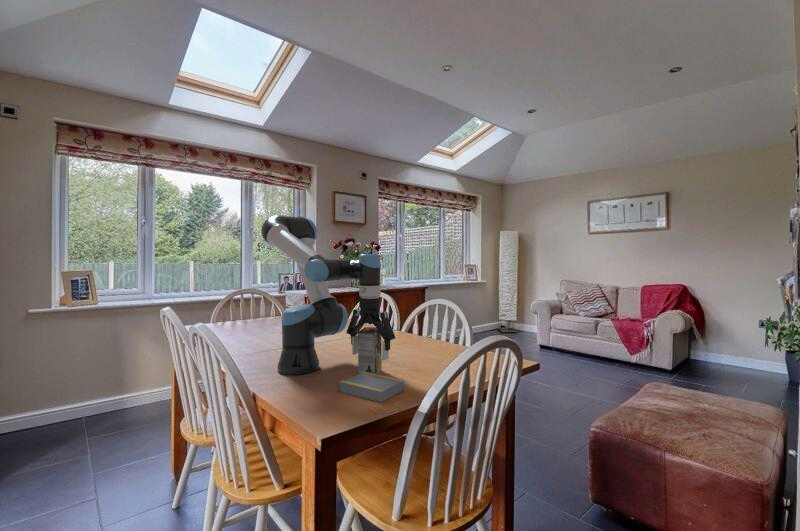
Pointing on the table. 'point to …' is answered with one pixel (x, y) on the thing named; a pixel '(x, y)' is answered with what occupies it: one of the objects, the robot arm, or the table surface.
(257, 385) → the table surface
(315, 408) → the table surface
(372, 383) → the dock
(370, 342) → the coffee box
